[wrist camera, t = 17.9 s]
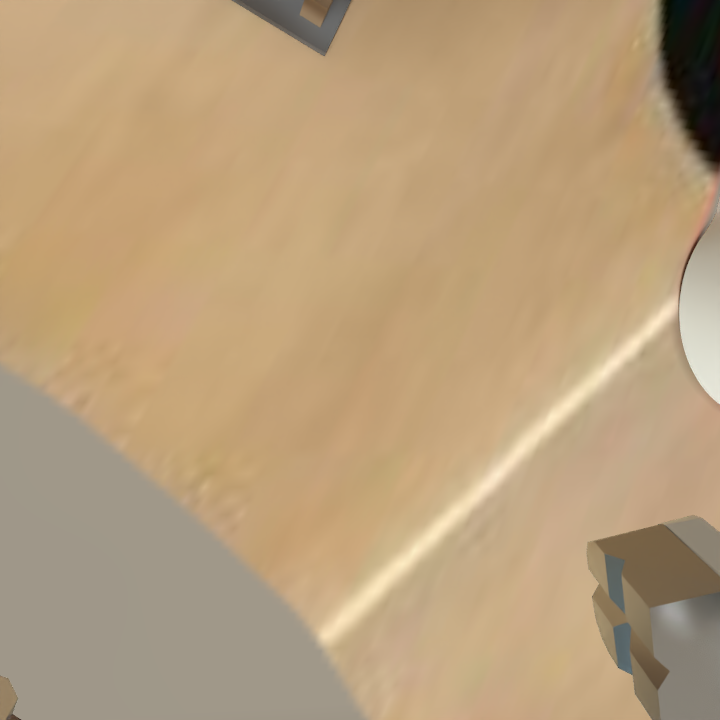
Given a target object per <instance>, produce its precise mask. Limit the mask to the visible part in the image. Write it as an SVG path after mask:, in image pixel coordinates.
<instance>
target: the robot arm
mask: <svg viewBox="0 0 720 720" xmlns="http://www.w3.org/2000/svg"><path fill="white" fill-rule="evenodd" d="M679 322H680V332H681V338H682V342H683V347H684V350H685V354H686V357H687V359H688V362H689V364H690V366H691V369H692V371H693V373H694V374H695V376H696V378H697V380H698V381H699V383H700V384H701V386H702V387H703V388H704V390H705V391H706V392H707V393H708V394H709V395H710V396H711V397H712V398H713V399H714V400H715V401H716V402H717V403H718V404H720V197H719V201H718V206H717V210H716V214H715V216H714V218H713V220H712V222H711V224H710V225H709V227H708V228H707V230H706V231H705V233H704V234H703V236H702V237H701V239H700V240H699V242H698V244H697V246H696V247H695V249H694V251H693V253H692V255H691V258H690V260H689V262H688V265H687V268H686V271H685V274H684V278H683V282H682V287H681V294H680V304H679ZM587 561H588V569H589V570H590V572H591V573H592V574H593V576H594V577H595V579H596V580H597V581H598V583H599V585H598V587H597V589H596V591H595V592H594V594H593V596H592V599H593V606H594V612H595V618H596V621H597V624H598V627H599V631H600V634H601V637H602V640H603V642H604V644H605V646H606V648H607V650H608V652H609V654H610V656H611V657H612V659H613V660H614V662H615V664H616V665H617V667H618V668H619V669H621V670H623V671H625V672H627V673H629V674H631V675H633V682H634V690H635V695H636V696H637V698H638V699H639V701H640V702H641V704H642V705H643V707H644V708H645V710H646V711H647V713H648V714H649V716H650V717H651V719H652V720H720V532H719V531H717V530H716V529H715V528H714V527H712V526H711V525H710V524H709V523H708V522H706V521H705V520H704V519H703V518H701V517H698V516H694V515H691V516H687V517H683V518H680V519H676V520H672V521H668V522H664V523H661V524H658V525H656V526H652V527H648V528H643V529H639V530H635V531H631V532H627V533H623V534H619V535H615V536H611V537H607V538H603V539H598V540H594V541H590V542H588V543H587ZM17 700H18V697H17V695H16V693H15V691H14V689H13V687H12V685H11V683H10V681H9V679H8V678H5V677H2V676H0V720H21V719H19V718H18V717H16V716H15V715H13V711H14V708H15V705H16V703H17Z"/></svg>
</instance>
